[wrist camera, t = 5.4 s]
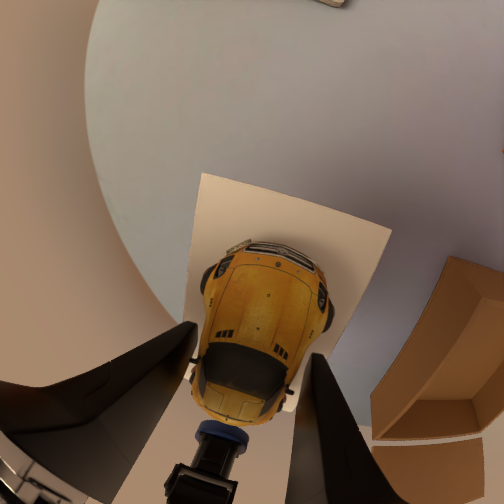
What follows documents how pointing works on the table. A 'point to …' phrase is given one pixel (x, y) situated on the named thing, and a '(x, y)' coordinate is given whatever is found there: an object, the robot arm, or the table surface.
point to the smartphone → (333, 2)
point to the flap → (434, 471)
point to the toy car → (268, 294)
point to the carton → (447, 362)
